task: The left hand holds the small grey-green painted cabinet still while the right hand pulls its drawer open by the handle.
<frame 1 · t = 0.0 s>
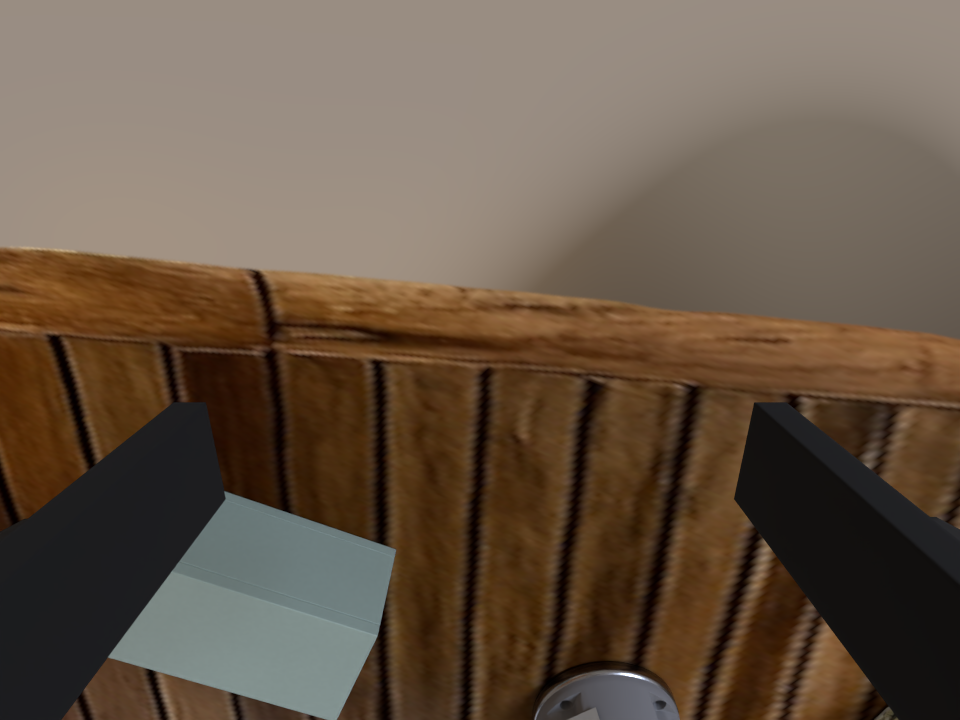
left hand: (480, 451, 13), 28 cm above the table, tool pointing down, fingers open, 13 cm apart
cabinet: (281, 557, 49), on the table
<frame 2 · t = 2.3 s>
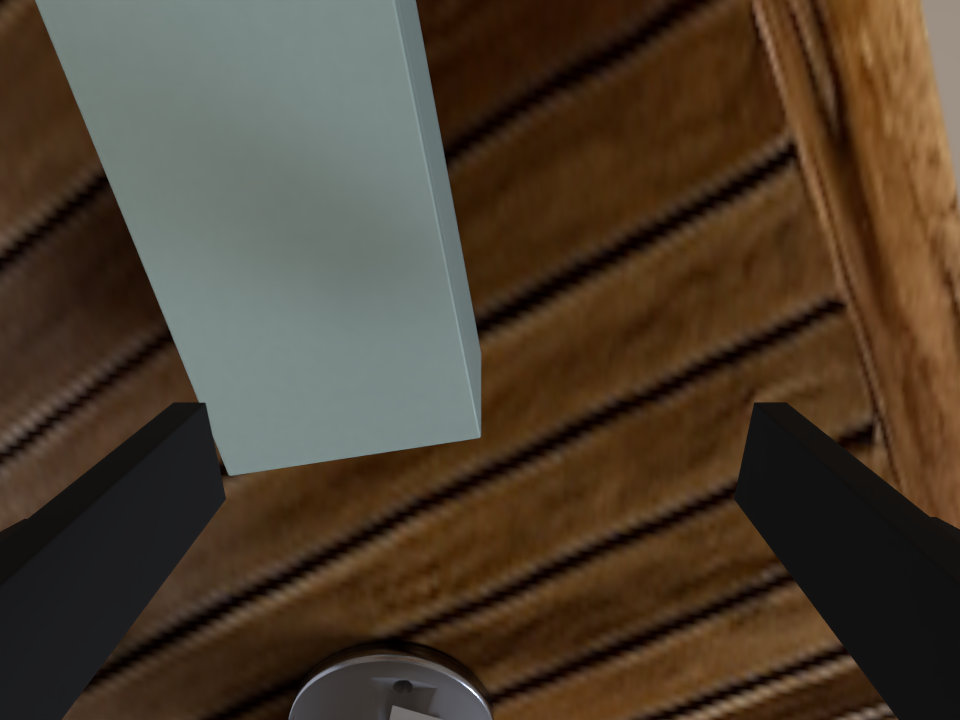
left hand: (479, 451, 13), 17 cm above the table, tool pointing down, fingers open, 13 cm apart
cabinet: (347, 197, 27), on the table
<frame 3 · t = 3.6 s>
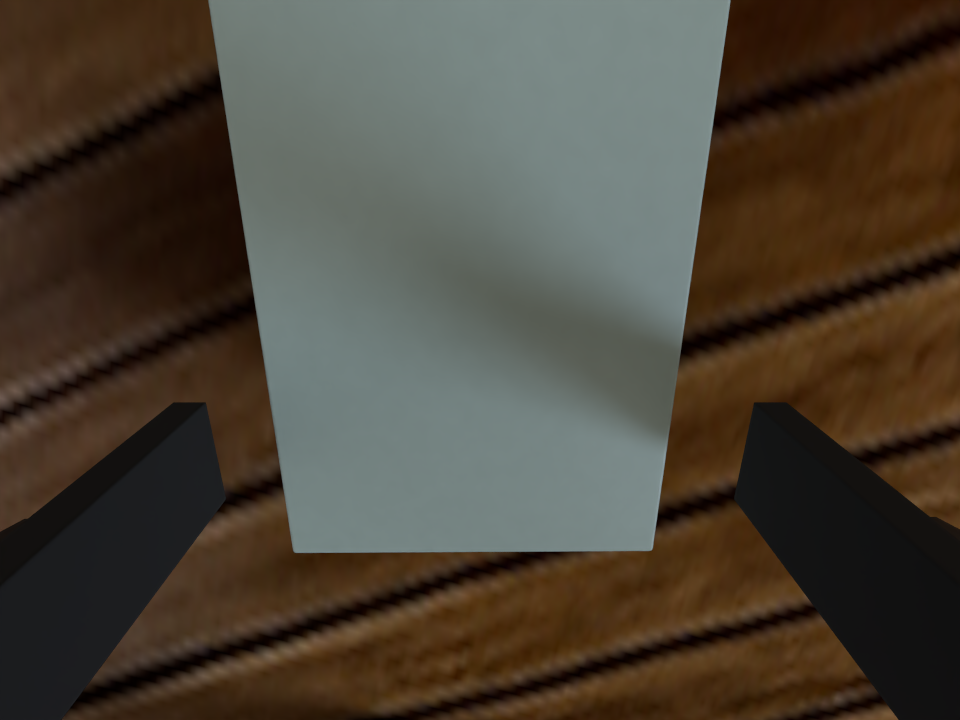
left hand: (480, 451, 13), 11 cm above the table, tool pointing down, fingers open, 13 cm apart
cabinet: (473, 193, 21), on the table
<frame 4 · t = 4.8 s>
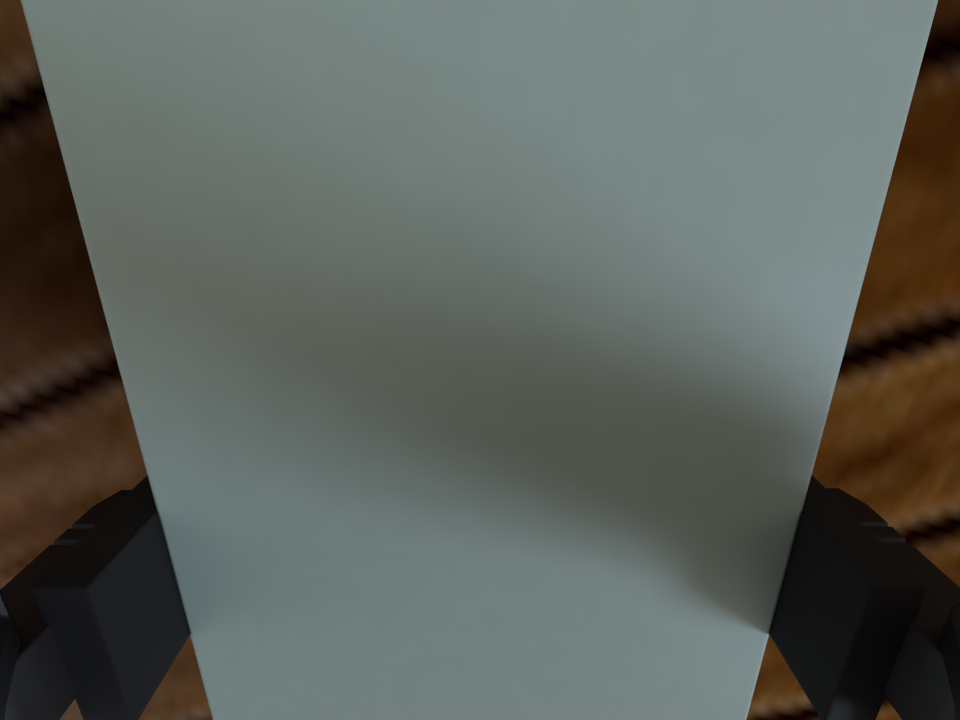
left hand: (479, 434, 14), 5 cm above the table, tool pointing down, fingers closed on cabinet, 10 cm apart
cabinet: (479, 191, 16), on the table, touching left hand
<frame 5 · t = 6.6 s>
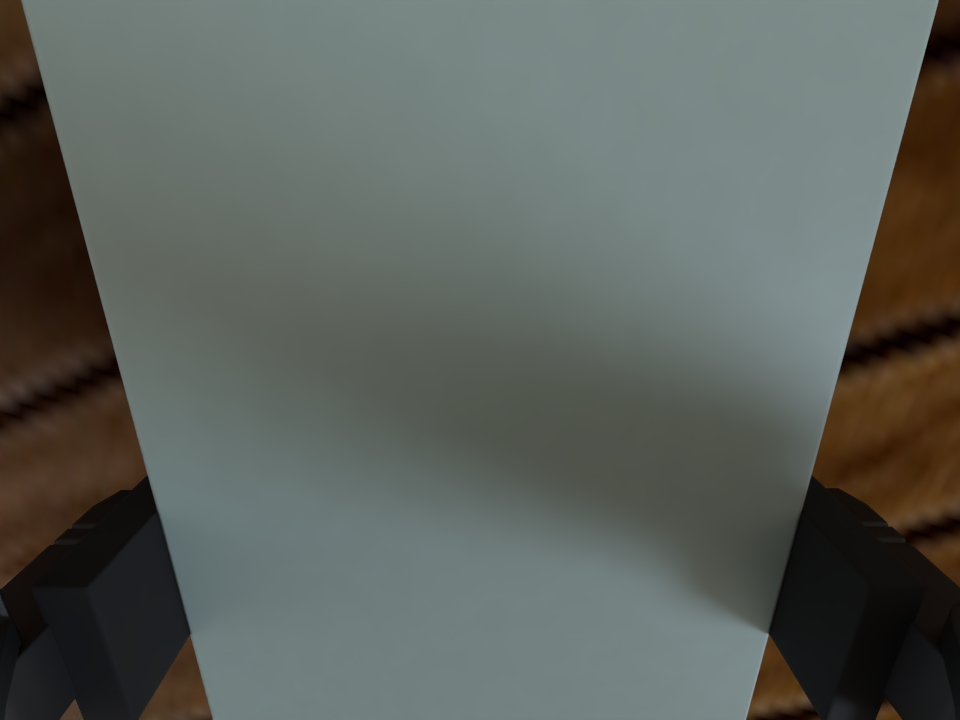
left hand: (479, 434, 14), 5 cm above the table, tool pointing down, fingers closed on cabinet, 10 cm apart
cabinet: (479, 191, 16), on the table, touching left hand
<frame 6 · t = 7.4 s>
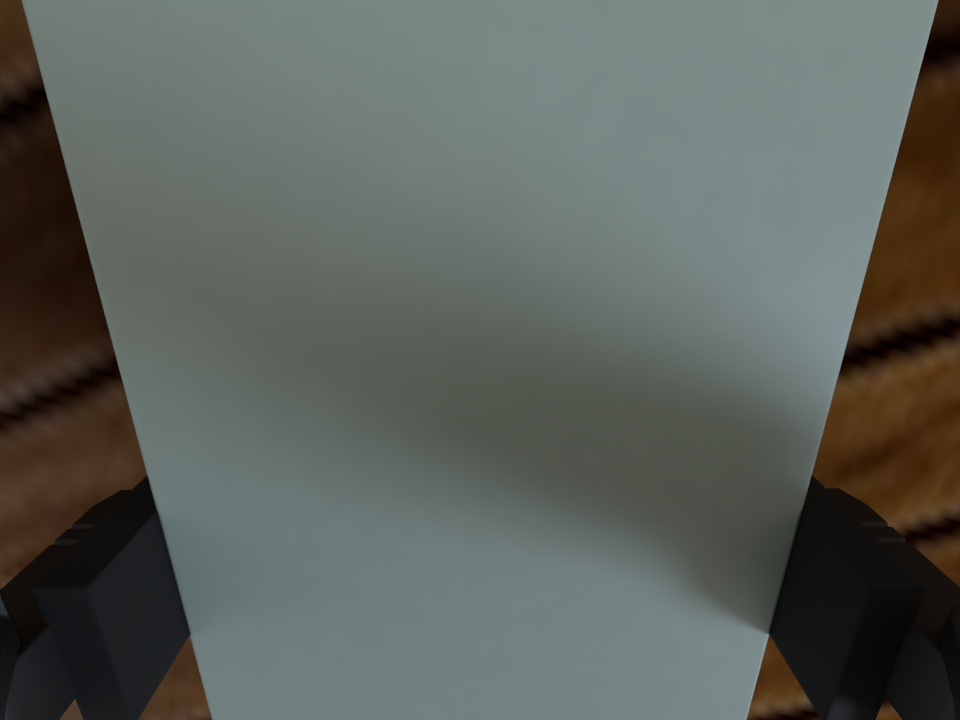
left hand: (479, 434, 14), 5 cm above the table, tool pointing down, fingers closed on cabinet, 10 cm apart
cabinet: (479, 191, 16), on the table, touching left hand
when the left hand's fingers open (5 cm above the table, at t = 9.2 s): cabinet stays where it is, on the table.
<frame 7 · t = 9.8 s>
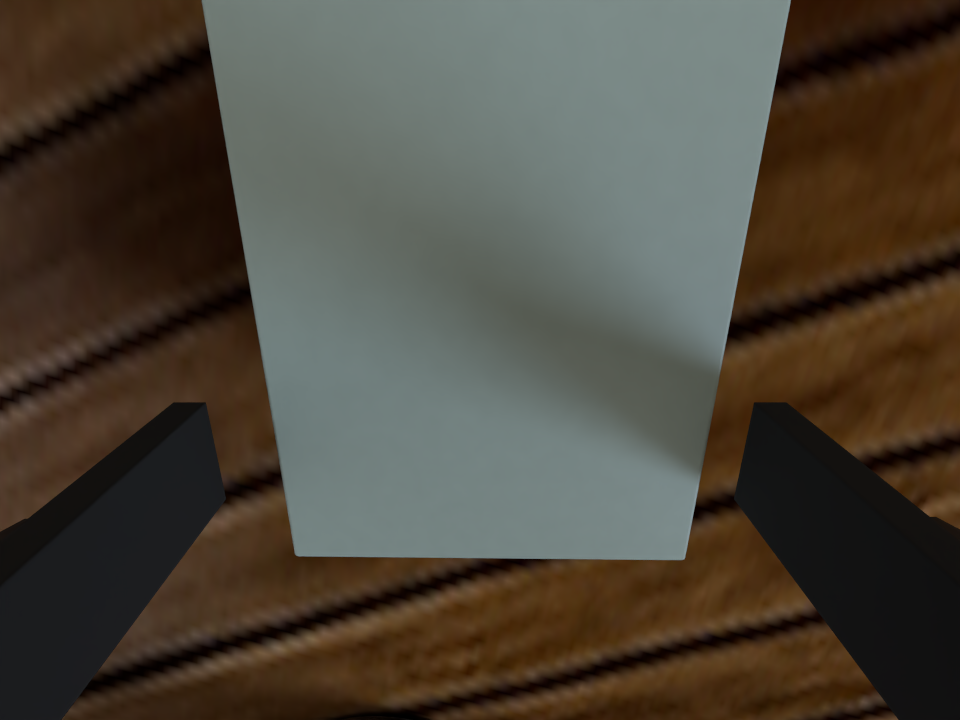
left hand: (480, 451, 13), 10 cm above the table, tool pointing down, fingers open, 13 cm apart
cabinet: (490, 167, 19), on the table
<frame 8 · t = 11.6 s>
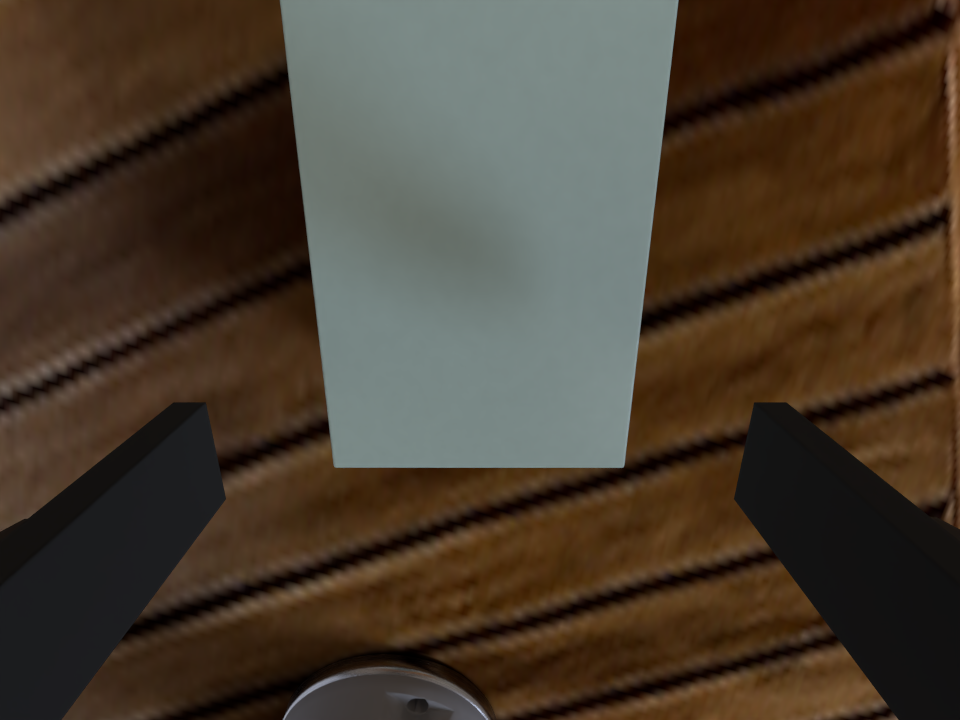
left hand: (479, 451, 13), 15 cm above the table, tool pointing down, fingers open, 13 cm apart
cabinet: (479, 179, 24), on the table
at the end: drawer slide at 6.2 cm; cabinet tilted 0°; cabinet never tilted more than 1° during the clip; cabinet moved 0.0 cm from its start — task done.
